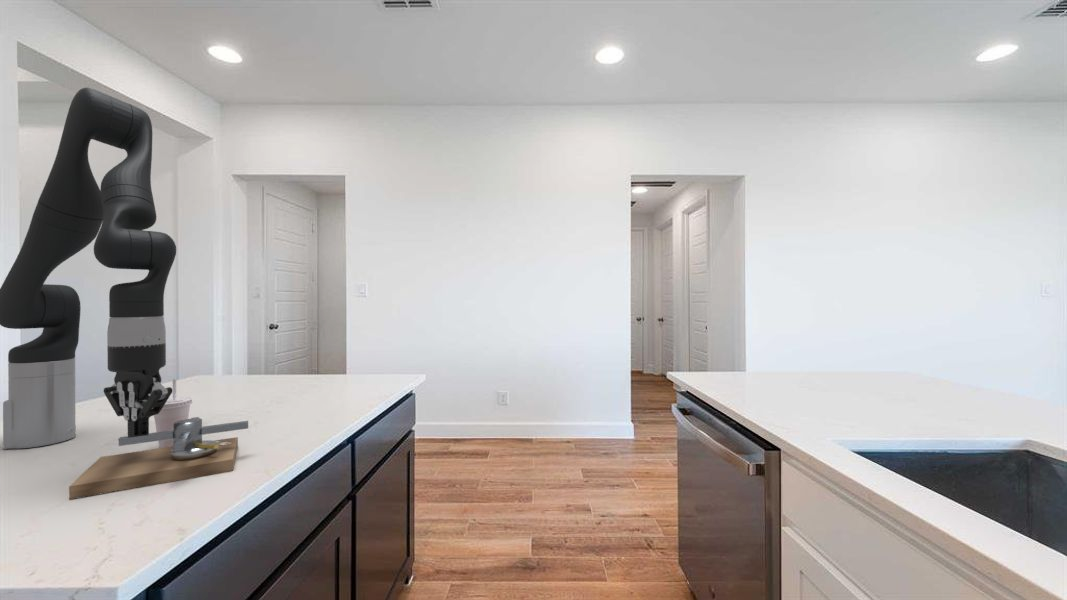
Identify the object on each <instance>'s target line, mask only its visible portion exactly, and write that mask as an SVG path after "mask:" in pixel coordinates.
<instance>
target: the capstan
mask: <svg viewBox="0 0 1067 600" xmlns="http://www.w3.org/2000/svg"><path fill="white" fill-rule="evenodd" d="M246 429H249V420H244V421H243V420H242V421H237V422H236V421H235V422H227V423H220V424H213V425H203V419H202V418H200V416H195V417H191V418H188V419H185V420H180V421H177V422H174V423H173V430H172V431H164V432H157V431H156V432H151V433H150V432H149V433H148V434H141V435H133V436H128V435H126V436H120V437H119V438H118V447H121V446H123V447H124V446H130V445H137V444H144V443H151V442H158V441H160V440H167V439H173V449H172V450H171V458H172V459H176V460H184V459H192V458H198V457H202V456H205V455H208V454H211V453H213V452H215V451H216V450H217V448H218V444H217V442H216V441H214V440H210V439H209V440H206V439H205V440H203V435H209V434H217V433H224V432H233V431H238V430H239V431H240V430H246Z"/></svg>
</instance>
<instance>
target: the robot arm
mask: <svg viewBox="0 0 1067 600" xmlns="http://www.w3.org/2000/svg"><path fill="white" fill-rule="evenodd" d="M91 140H92V141H93V140H94V141H96V142H99V143H102V144H106V145H108V146H112V147H114V148H118V149H121V150H124V151H125V152H126V157H125V159H123V160H121V161H120V162H119V163H117V165H115V166H113V167H112V168H111V169H110V170H108V171H107V172H106V173H105V175H104V176H103V177H102V179H101V183H100V187H99V185H98V183H97V180H96V178H95V177H94V174H93V171H92V168H91V165H90V161H89V147H90V143H91ZM54 159H55V160H54V161H53V164H52V167H51V170H50V172H49V174H48V177H47V179H46V182H45V184H44V186H43V188H42V191H41V192H40V193H41V194H39V195H40V196H39V197H38V200H37V203H36V205H35V209H34V211H33V214H32V217H31V220H30V224H29V226H28V230H27V232H26V235H25V237H24V240H23V243H22V245H21V248H20V251H19V253H17V257H16V259H15V261H14V262H13V264H12V266H11V267H10V270H9V271H8V273H7V275H6V277H5V278H4V280H3V283H2V284H1V287H0V327H4V328H6V329H13V330H16V329H19V330H23V329H25V330H26V329H27V330H28V329H42V333H40V335H38V336H37V337H36V338H35V339H32V340H31V341H28V342H26V343H23V344H19V345H17V346H14V347H12V348H10V349H9V351H8V355H7V356H8V357H7V358H8V359H7V366H8V367H7V368H8V369H7V372H8V373H7V374H8V376H7V377H8V381H7V382H8V388H7V389H8V399H6V400H4V401H3V402H2V421H3V422H2V449H3V450H8V449H28V448H29V449H30V448H38V447H44V446H49V445H54V444H57V443H61V442H65V441H68V440H71V439H74V438H75V437H76V428H77V426H76V351H77V347H78V344H79V339H80V321H81V299H80V296H79V294H78V292H77V290H75V288H73V287H72V286H70V285H66V284H49V283H48V284H46V283H45V282H46V281H47V279H48V277H49V276H50V274H51V273H52V272H53V271H54V270H55V269H56V268H57V267H58V266H60V265H61V264H63V263H64V262H65V261H67V260H68V259H70V258H71V257H73V256H75V255H77V254H78V253H79V252H80V251H82V250H84V249H85V248H86V247H87V246H89V245H90V244H91V243H92V242H93V241H94V240H95V241H94V245H93V254H94V257H95V259H96V260H97V262H98V263H100V264H101V265H102V266H103V267H107V268H110V269H117V270H141V271H146V270H147V271H148V272H147V275H146V276H145V277H144V278H143V279H141V280H137V281H132V282H131V281H129V282H122V283H121V282H120V283H117V284H114V285H112V286H111V287H110V290H109V293H108V294H109V295H108V296H109V298H108V300H109V301H108V302H109V305H108V306H109V307H108V308H109V309H108V311H109V319H108V326H107V332H106V333H107V334H106V335H107V340H106V341H107V349H106V350H107V370H108V371H109V372H112V373H115V376H114V378H113V382H114V383H113V384H112V385H111V386H109V387H108V386H107V387H104V388H103V393H104V396H105V398H106V399H107V400H108V402H109V404H110V406H111V408H112V409H113V410H114V413H115V414H116V416H117V417H123V419H124V420H125V421H126V422H127V436H133V435H141V434H148V433H150V430H149V429H150V428H149V427H150V421H149V420H150V418H152V417H154V415H156V414H159V412H160V411H161V409H162V408H163V406H164V404H165V403H166V401H167V400H168V398H171V397H170V396H171V395H172V394H173V387H172V386H171V387H170V386H169V387H164V385H163V384H162V376H161V373H160V370H161V369H162V368H164V367H165V366H166V363H167V359H166V358H167V356H166V355H167V354H166V353H167V349H166V348H167V345H166V337H167V335H166V334H167V333H166V331H167V330H166V325H165V317H164V314H165V312H164V311H165V309H164V308H165V307H164V305H165V304H164V298H165V296H164V295H165V289H166V284H167V281H168V277H169V275H170V272H171V270H172V267H173V264H174V261H175V259H176V256H177V245H176V242H175V241H174V239H173V238H172V237H171V236H170V235H169V234H167V233H165V232H161V231H156V230H155V231H154V230H148V229H150V228H151V227H153V226H154V225H155V224H156V222H157V211H156V207H155V202H154V196H153V195H154V194H153V191H152V184H151V183H152V181H151V174H152V161H153V124H152V120H151V118H150V116H149V114H148V113H147V111H145V110H143V109H141V108H139V107H137V106H135V105H133V104H131V103H128V102H125V101H123V100H121V99H118V98H116V97H113V96H112V95H109V94H107V93H104V92H101V91H99V90H96V89H94V88H90V87H83V88H80V89H79V90H78V91H77V92H76V93H75V95H74V96H73V98H72V100H71V103H70V104H69V108H68V112H67V115H66V117H65V123H64V125H63V130H62V133H61V137H60V141H59V145H58V150H57V152H56V156H55V158H54Z"/></svg>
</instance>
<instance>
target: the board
mask: <svg viewBox="0 0 1067 600" xmlns="http://www.w3.org/2000/svg"><path fill="white" fill-rule="evenodd" d="M213 441H216V442H217V444H218V448H217V450H216V451H215V452H213V453H211V454H208V455H205V456H202V457H198V458H192V459H184V460H176V459H172V458H171V450H172V449H173V447H166V448H159V447H158V448H153V449H147V450H140V451H133V452H126V453H124V452H123V453H119V454H113V455H112V454H111V455H106V456H105V455H103V456H100V457H99V458H97V459H96V461H94V462H93V463H92V464H91V465H90V466H89V467H88V468H87V469H86V470H85V471H84V472H83V473H82V474H81V475H80V476H79V477H78V478H77V479H76V480H75V481H73V482H72V483H71V484H70V485H69V488H68V489H69V490H68V493H69V494H68V495H69V496H68V497H69V498H68V499H70V500H74V499H73V498H76V499H78V498H77V497H82V498H84V497H83V496H87V497H90V496H89V495H93V496H95V495H94V494H99V495H101V494H100V493H104V494H106V493H105V492H110V493H112V492H111V491H115V492H118V491H117V490H121V491H125V490H124V489H127V490H131V489H130V488H132V489H137V488H136V487H138V488H143V487H149V486H154V484H155V485H158V484H159V485H160V484H164V483H171V482H176V481H181V480H187V479H188V480H189V479H194V478H198V477H203V476H210V475H215V474H216V475H217V474H220V473H221V474H222V473H225V472H226V473H227V472H233V471H234V467H235V462H236V458H237V452H238V447H239V445H238V444H239V443H238V441H239V437H238V436H237V437H236V436H235V437H230V438H222V439H214V440H213Z"/></svg>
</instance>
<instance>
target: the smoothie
mask: <svg viewBox="0 0 1067 600" xmlns="http://www.w3.org/2000/svg"><path fill="white" fill-rule="evenodd" d="M191 404H193V399H192V397H191V396H190V397H189V396H178V397H177V378H172V397H169V398H168V400H167V401H166V403H165V404H164V406H163V408H162V409H161V411H160V412H159V414H156V415H153V418H154V424H155V430H156V432H164V431H172V430H173V423H174V422H177V421H180V420H185V419H189V415H190V407H191ZM157 442H158V449H159V448H166V447H173V439H167V440H160V441H157Z"/></svg>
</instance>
